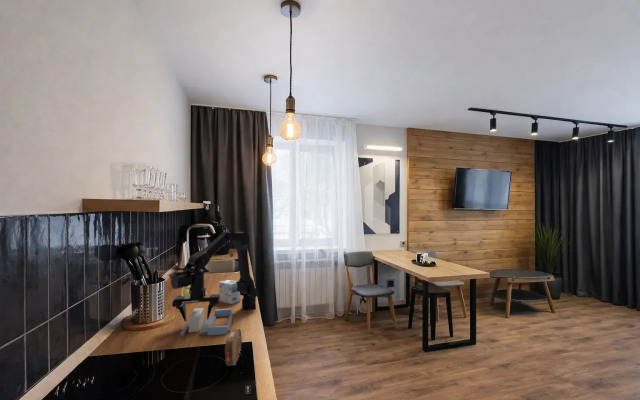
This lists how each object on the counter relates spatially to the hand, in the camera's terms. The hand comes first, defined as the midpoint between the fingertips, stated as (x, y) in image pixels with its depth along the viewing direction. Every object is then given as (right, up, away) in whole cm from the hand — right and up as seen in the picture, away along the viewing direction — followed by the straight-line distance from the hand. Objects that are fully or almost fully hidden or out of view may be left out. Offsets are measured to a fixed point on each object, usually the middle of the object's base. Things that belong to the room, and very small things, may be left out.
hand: (196, 320), depth 128 cm
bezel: (+10, -3, +2) cm, 10 cm away
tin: (+24, -2, -28) cm, 37 cm away
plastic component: (-21, -5, +44) cm, 49 cm away
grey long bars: (+5, -3, +1) cm, 6 cm away
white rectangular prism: (0, -3, 0) cm, 3 cm away
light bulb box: (+3, -4, +35) cm, 36 cm away
